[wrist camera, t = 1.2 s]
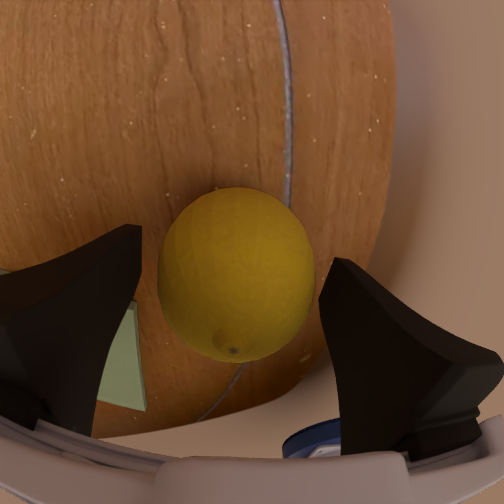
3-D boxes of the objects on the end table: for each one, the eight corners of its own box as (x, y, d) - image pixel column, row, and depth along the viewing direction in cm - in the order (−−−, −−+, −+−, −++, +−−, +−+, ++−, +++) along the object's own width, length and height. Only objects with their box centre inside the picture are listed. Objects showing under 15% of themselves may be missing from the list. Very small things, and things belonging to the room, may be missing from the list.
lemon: (313, 187, 14) (380, 295, 7) (272, 282, 16) (288, 415, 9) (197, 150, 13) (140, 228, 6) (170, 254, 15) (125, 382, 8)
